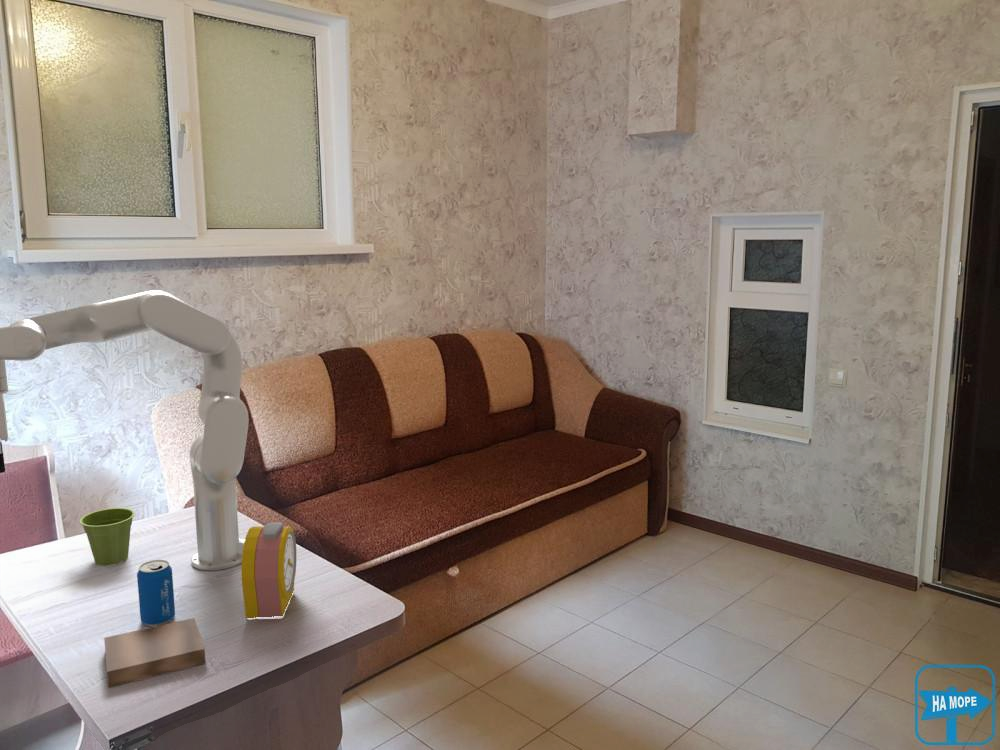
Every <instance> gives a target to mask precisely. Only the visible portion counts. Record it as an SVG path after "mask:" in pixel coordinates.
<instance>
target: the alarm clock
mask: <svg viewBox="0 0 1000 750" xmlns="http://www.w3.org/2000/svg"><path fill="white" fill-rule="evenodd" d="M244 540H245V542H244V547H243V554H242V562H241V563H240V564H241V567H240V568H241V570H240V571H241V575H240V576H241V578H240V579H241V584H242V585H241V586H242V593H243V602H244V603H243V606H244V610H245V611H244V612H245V619H246V618H254V617H255V618H256V617H272V616H273V617H274V616H283V614H284V612H285V609H286V607H287V605H288V602H289V600H290V598H291V596H292V593H293V591H294V592H295V580H296V570H297V542H296V541H297V539H296V535H295V532H294V530H293V528H292V527H291V526H290V525H284V524H283V522H282V521H281V522H276V521H275V522H274V521H273V522H268V523H266V524H264V526H252V527H250V528H249V529H248V531H247V533H246V536H245V537H244Z"/></svg>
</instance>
